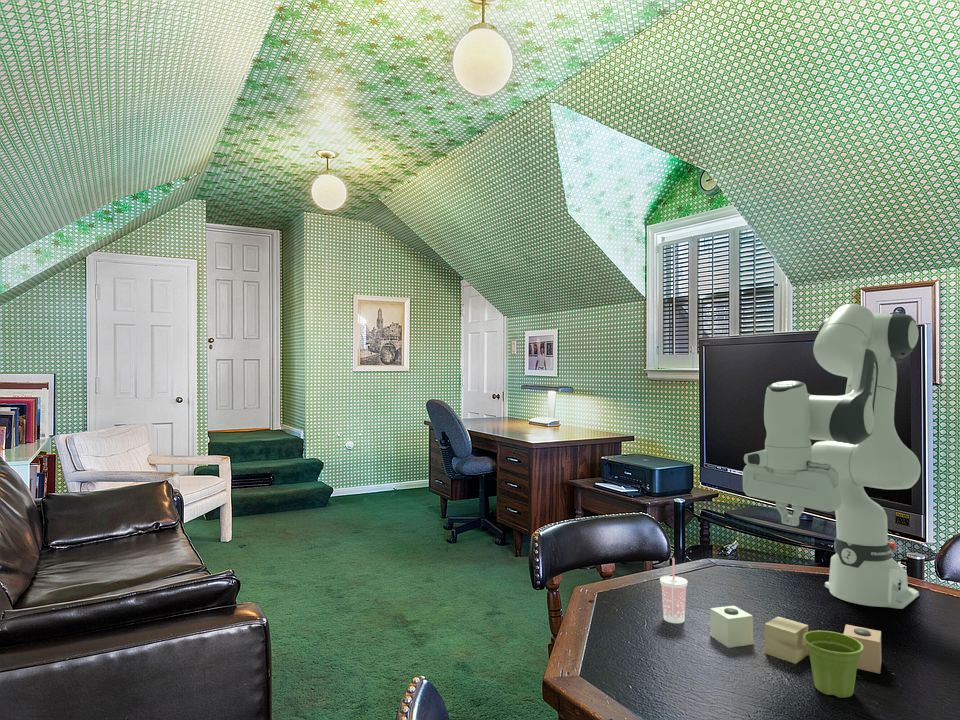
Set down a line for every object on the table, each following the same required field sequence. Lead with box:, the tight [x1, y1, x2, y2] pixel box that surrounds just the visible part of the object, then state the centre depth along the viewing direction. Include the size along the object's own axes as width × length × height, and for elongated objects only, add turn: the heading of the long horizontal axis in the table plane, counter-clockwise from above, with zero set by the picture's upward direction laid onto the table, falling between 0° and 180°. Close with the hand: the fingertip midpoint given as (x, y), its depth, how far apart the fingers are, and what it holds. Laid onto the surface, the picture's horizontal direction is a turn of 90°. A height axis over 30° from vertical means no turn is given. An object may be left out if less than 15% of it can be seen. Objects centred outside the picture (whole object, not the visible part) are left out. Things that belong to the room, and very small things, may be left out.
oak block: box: [764, 616, 809, 665], centre depth 127 cm, size 6×6×6 cm
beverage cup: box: [659, 557, 689, 624], centre depth 144 cm, size 6×6×14 cm
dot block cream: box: [709, 605, 754, 649], centre depth 133 cm, size 6×6×6 cm
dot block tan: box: [842, 623, 882, 675], centre depth 122 cm, size 6×6×6 cm
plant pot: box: [803, 630, 863, 699], centre depth 112 cm, size 9×9×9 cm
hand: (790, 524), depth 132 cm, fingers closed
